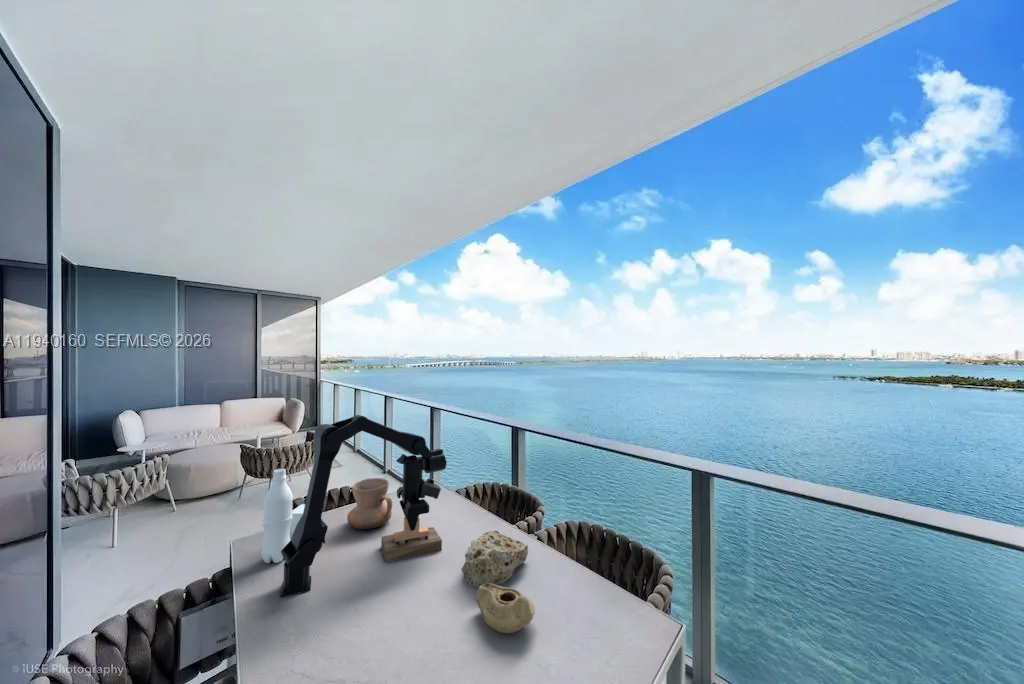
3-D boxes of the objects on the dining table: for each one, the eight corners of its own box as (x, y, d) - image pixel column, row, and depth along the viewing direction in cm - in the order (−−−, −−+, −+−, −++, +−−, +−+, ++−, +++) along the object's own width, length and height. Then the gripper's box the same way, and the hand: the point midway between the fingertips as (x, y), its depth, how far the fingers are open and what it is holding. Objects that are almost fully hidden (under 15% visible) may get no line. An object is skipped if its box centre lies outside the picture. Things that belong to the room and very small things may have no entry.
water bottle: (276, 567, 105) (280, 474, 106) (254, 564, 106) (258, 472, 107) (296, 554, 112) (299, 467, 113) (275, 551, 113) (278, 466, 114)
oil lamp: (487, 598, 92) (488, 564, 92) (544, 620, 84) (544, 583, 84) (459, 625, 82) (459, 587, 83) (520, 652, 75) (520, 610, 75)
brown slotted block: (441, 550, 115) (441, 539, 115) (386, 561, 108) (386, 551, 108) (433, 536, 124) (433, 526, 124) (381, 546, 117) (381, 536, 117)
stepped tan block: (428, 545, 117) (429, 517, 117) (394, 552, 112) (395, 522, 113) (426, 541, 119) (426, 513, 120) (393, 547, 115) (394, 519, 115)
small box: (303, 549, 115) (304, 513, 115) (284, 549, 115) (286, 513, 115) (317, 537, 123) (318, 503, 123) (300, 537, 123) (301, 503, 123)
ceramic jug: (335, 526, 131) (336, 484, 131) (368, 511, 143) (370, 473, 144) (372, 539, 122) (374, 494, 123) (404, 522, 135) (406, 481, 135)
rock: (485, 551, 116) (494, 519, 117) (527, 574, 110) (536, 539, 111) (448, 578, 98) (458, 539, 98) (496, 607, 92) (507, 566, 92)
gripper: (447, 481, 112) (446, 535, 111) (431, 465, 129) (430, 512, 128) (408, 486, 107) (407, 543, 106) (397, 469, 124) (395, 518, 123)
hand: (411, 528), depth 116 cm, fingers closed on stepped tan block, 3 cm apart
